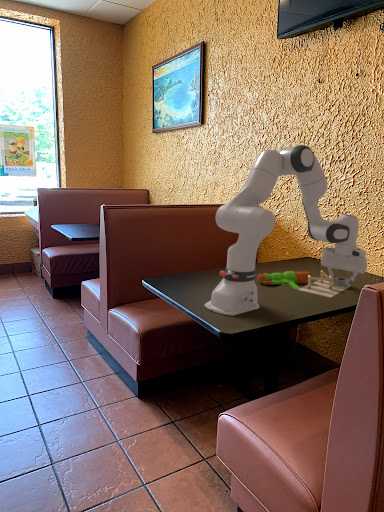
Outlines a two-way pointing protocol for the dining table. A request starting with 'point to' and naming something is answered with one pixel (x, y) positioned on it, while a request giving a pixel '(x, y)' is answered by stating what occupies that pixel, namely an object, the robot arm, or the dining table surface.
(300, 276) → the toy
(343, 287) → the pad
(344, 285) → the grey square box
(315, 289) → the board
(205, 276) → the dining table surface
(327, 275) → the rope post barrier
